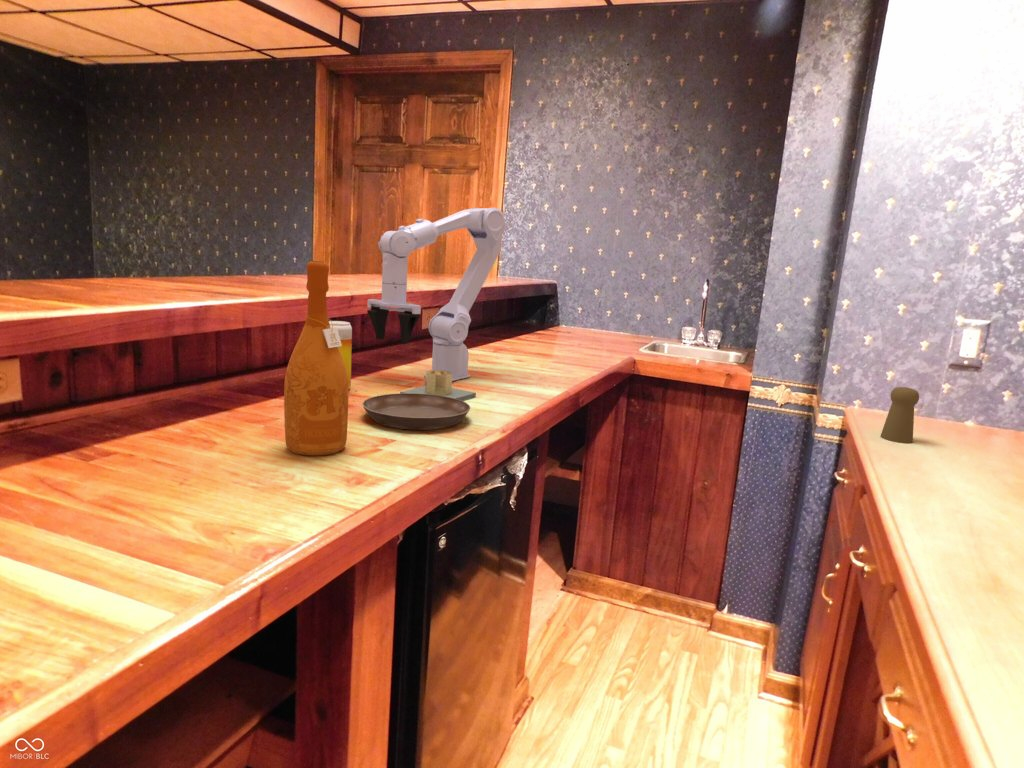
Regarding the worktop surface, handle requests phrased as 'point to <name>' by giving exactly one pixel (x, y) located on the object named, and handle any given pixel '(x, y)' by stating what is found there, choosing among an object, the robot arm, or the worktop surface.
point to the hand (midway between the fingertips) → (392, 341)
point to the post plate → (455, 394)
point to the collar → (438, 382)
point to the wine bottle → (316, 378)
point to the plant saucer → (416, 410)
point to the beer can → (345, 344)
